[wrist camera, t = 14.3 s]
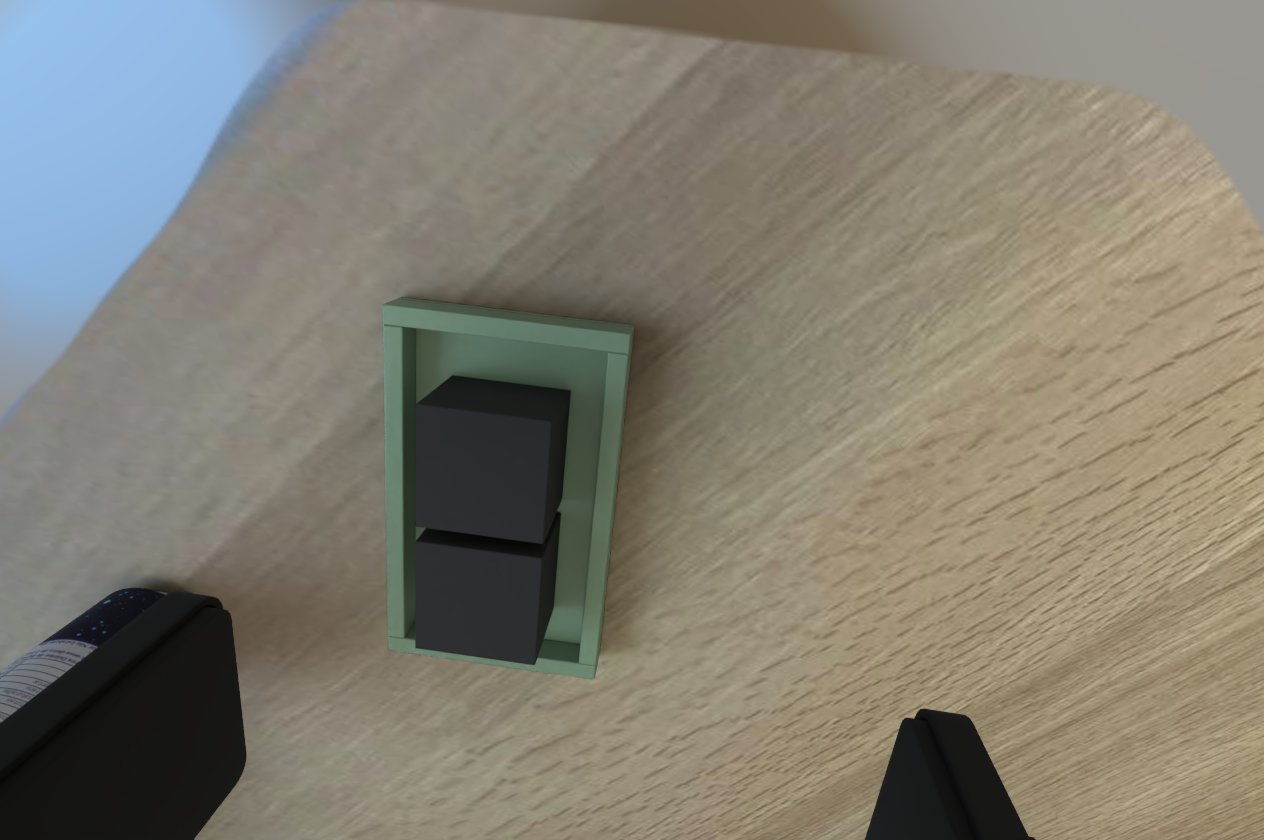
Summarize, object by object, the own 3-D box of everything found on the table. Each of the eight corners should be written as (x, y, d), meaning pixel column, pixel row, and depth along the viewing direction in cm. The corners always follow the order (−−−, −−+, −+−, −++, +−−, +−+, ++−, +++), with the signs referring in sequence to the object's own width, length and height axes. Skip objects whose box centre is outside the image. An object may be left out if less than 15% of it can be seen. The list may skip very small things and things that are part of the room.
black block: (449, 496, 30) (414, 541, 27) (561, 511, 30) (542, 558, 26) (447, 594, 32) (414, 648, 28) (553, 608, 32) (534, 666, 28)
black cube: (451, 374, 28) (415, 403, 25) (571, 389, 28) (552, 421, 24) (449, 484, 30) (414, 527, 26) (562, 499, 30) (543, 544, 26)
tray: (400, 296, 28) (382, 304, 26) (634, 325, 28) (630, 334, 26) (402, 627, 33) (387, 650, 32) (599, 655, 33) (594, 680, 31)
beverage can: (93, 630, 35) (-195, 843, 24) (138, 556, 33) (-148, 748, 22) (190, 692, 36) (-44, 928, 24) (239, 623, 34) (13, 842, 23)
